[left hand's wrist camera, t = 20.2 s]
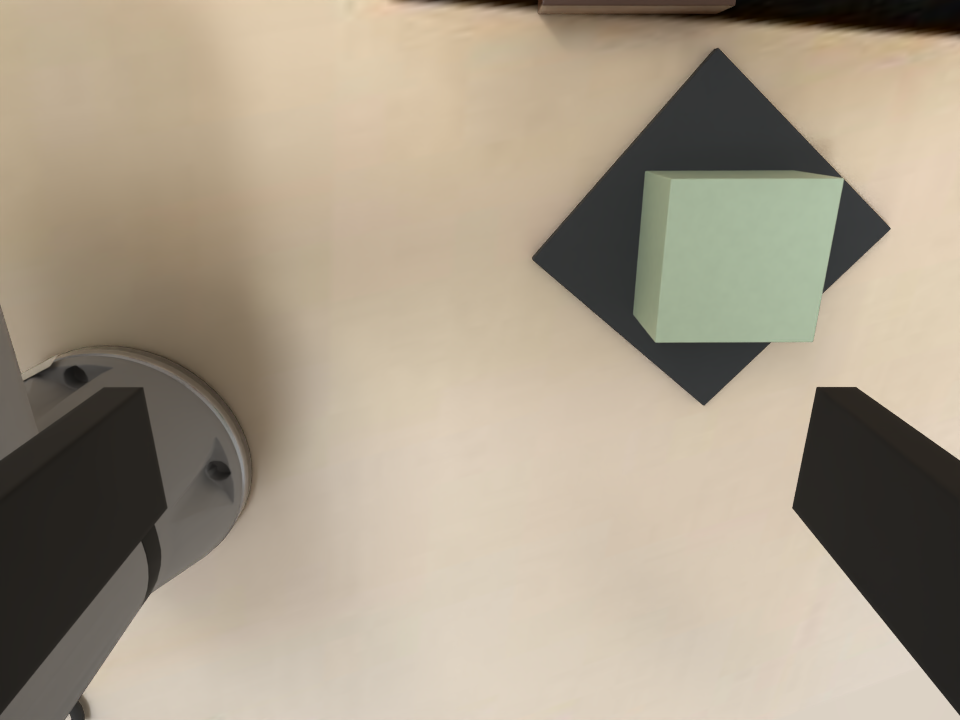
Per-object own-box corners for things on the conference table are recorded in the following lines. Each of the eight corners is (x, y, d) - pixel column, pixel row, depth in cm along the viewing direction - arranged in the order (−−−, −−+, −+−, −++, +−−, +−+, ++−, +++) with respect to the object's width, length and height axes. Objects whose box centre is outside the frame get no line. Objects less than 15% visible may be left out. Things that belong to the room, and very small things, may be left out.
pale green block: (771, 314, 37) (813, 342, 32) (632, 315, 37) (654, 343, 32) (794, 170, 34) (845, 178, 29) (644, 170, 34) (671, 178, 29)
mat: (700, 402, 39) (704, 406, 39) (531, 257, 36) (532, 259, 36) (885, 227, 36) (891, 228, 35) (714, 48, 32) (718, 47, 32)
